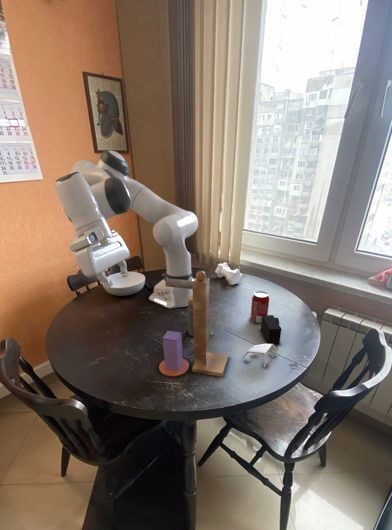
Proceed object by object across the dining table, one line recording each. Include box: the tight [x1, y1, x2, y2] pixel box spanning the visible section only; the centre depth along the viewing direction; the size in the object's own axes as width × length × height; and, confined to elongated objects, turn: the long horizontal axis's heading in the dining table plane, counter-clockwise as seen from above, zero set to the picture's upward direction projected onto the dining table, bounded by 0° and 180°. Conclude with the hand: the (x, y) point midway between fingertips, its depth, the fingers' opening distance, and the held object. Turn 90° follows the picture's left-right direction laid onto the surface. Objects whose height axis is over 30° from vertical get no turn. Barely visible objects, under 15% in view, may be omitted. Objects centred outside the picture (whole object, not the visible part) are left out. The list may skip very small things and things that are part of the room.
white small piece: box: [242, 343, 279, 368], centre depth 101 cm, size 12×8×5 cm
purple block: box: [162, 330, 184, 371], centre depth 97 cm, size 12×5×5 cm
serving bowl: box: [101, 271, 146, 297], centre depth 151 cm, size 21×21×7 cm
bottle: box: [186, 295, 194, 337], centre depth 115 cm, size 6×6×15 cm
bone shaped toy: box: [214, 261, 243, 286], centre depth 161 cm, size 15×9×8 cm, turn 27°
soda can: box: [249, 290, 270, 324], centre depth 123 cm, size 7×7×12 cm
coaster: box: [158, 358, 190, 378], centre depth 100 cm, size 10×10×1 cm
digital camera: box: [260, 314, 282, 346], centre depth 113 cm, size 10×5×7 cm, turn 5°
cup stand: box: [165, 270, 229, 378], centre depth 93 cm, size 18×10×33 cm, turn 74°
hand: (118, 281), depth 89 cm, fingers open, 8 cm apart
